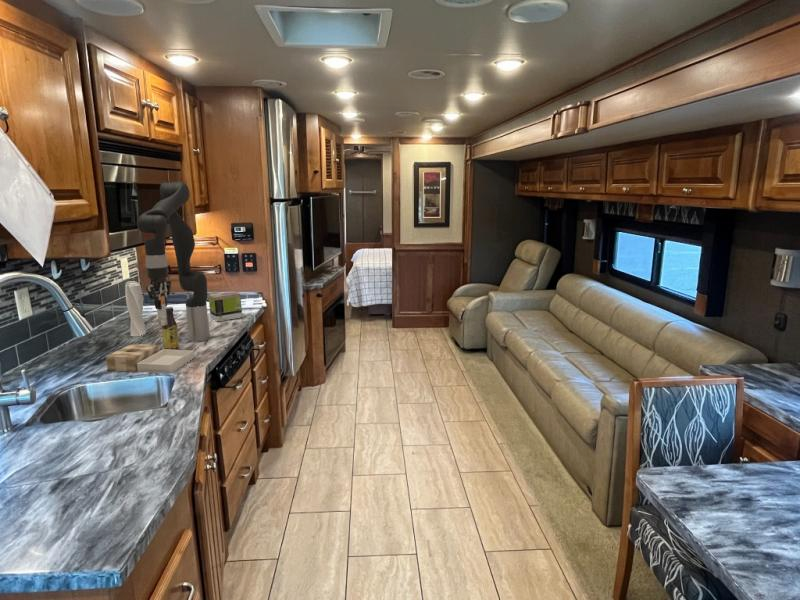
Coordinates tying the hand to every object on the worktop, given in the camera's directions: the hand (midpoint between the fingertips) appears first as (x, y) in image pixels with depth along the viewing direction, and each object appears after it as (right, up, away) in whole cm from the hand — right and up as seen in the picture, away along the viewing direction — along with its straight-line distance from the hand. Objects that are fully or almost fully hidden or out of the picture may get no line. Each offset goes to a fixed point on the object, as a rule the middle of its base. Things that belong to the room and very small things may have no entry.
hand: (161, 307), depth 193 cm
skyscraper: (-35, -15, +46) cm, 60 cm away
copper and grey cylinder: (0, -7, +2) cm, 7 cm away
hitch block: (-14, -24, +6) cm, 28 cm away
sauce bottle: (-7, -20, +24) cm, 32 cm away
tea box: (-2, -8, +78) cm, 79 cm away
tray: (0, -24, +5) cm, 25 cm away
